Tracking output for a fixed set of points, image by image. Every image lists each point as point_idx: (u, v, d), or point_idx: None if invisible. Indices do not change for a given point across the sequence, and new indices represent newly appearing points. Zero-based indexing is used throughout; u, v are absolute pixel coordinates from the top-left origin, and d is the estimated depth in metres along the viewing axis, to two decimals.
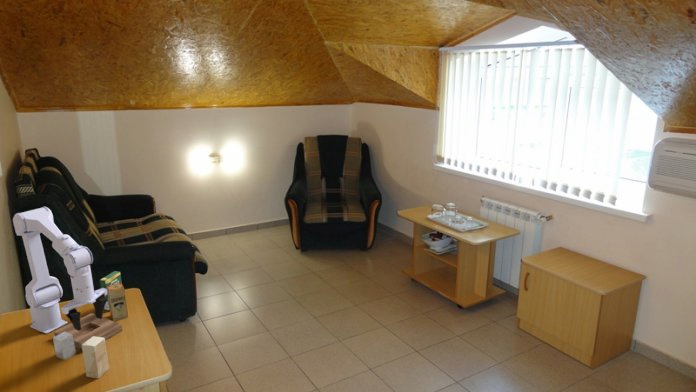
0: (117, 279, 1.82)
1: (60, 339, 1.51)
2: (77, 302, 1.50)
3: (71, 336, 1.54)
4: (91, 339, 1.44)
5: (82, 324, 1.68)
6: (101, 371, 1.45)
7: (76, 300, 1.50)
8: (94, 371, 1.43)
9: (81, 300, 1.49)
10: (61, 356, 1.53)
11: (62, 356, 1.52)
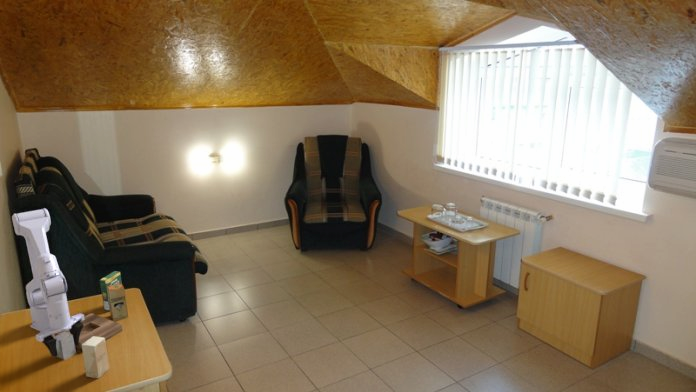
0: (117, 279, 1.82)
1: (60, 339, 1.51)
2: (52, 329, 1.49)
3: (71, 336, 1.54)
4: (91, 339, 1.44)
5: None
6: (101, 370, 1.45)
7: (51, 327, 1.49)
8: (94, 371, 1.43)
9: (57, 327, 1.49)
10: (61, 356, 1.53)
11: (62, 356, 1.52)
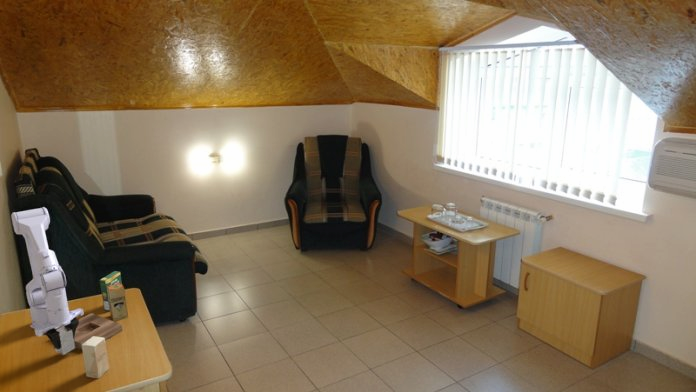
0: (117, 279, 1.82)
1: (59, 334, 1.51)
2: (51, 324, 1.49)
3: (70, 331, 1.53)
4: (91, 339, 1.44)
5: (82, 324, 1.68)
6: (101, 371, 1.45)
7: (50, 322, 1.49)
8: (94, 371, 1.43)
9: (56, 321, 1.48)
10: (60, 351, 1.52)
11: (61, 351, 1.52)
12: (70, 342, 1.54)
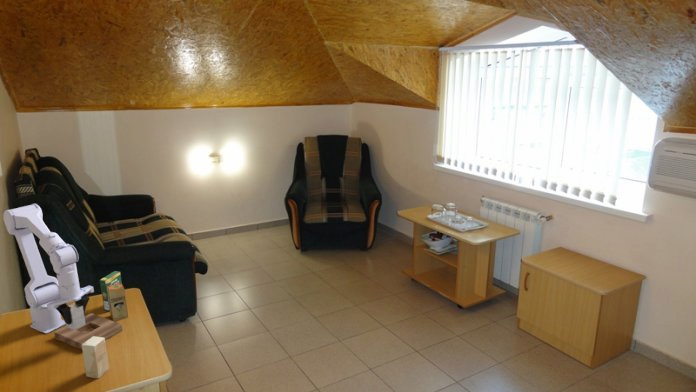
0: (117, 279, 1.82)
1: (70, 310, 1.55)
2: (63, 299, 1.53)
3: (81, 307, 1.58)
4: (91, 339, 1.44)
5: None
6: (101, 370, 1.45)
7: (62, 297, 1.53)
8: (94, 371, 1.43)
9: (67, 297, 1.53)
10: (71, 326, 1.57)
11: (72, 326, 1.56)
12: (81, 318, 1.58)
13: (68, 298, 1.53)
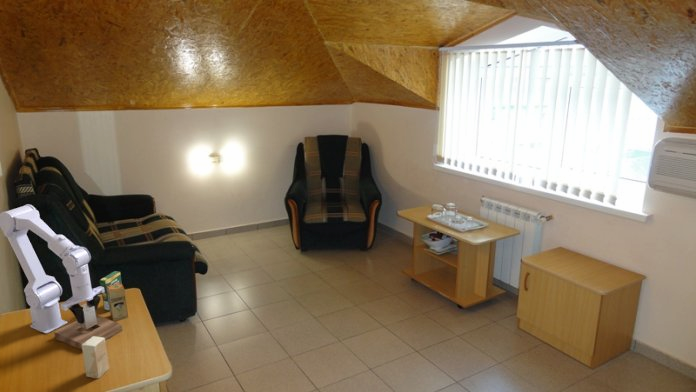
0: (117, 279, 1.82)
1: None
2: (76, 299, 1.59)
3: (93, 307, 1.64)
4: (91, 339, 1.44)
5: None
6: (101, 371, 1.45)
7: (75, 297, 1.59)
8: (94, 371, 1.43)
9: (80, 297, 1.59)
10: (83, 326, 1.63)
11: (84, 325, 1.62)
12: (93, 318, 1.64)
13: (81, 298, 1.59)
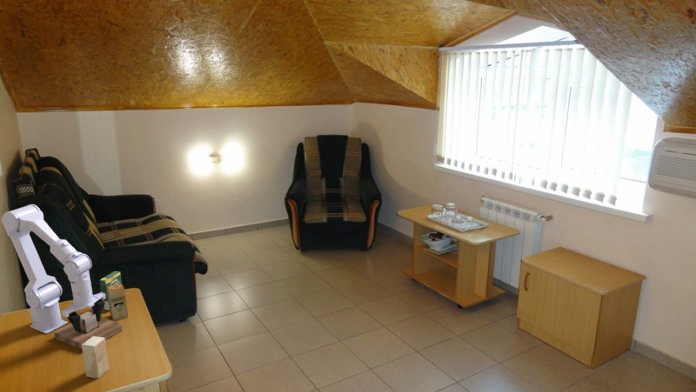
0: (117, 279, 1.82)
1: (84, 318, 1.62)
2: (77, 306, 1.60)
3: (94, 315, 1.64)
4: (91, 339, 1.44)
5: None
6: (101, 371, 1.45)
7: (76, 304, 1.60)
8: (94, 371, 1.43)
9: (81, 304, 1.60)
10: None
11: None
12: (94, 326, 1.65)
13: (82, 305, 1.60)
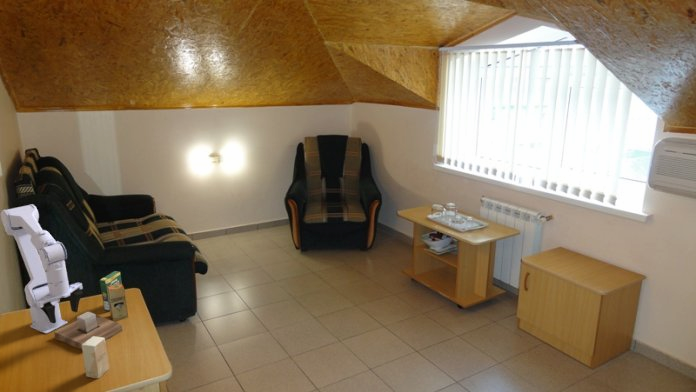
0: (117, 279, 1.82)
1: (84, 318, 1.62)
2: (52, 296, 1.54)
3: (94, 315, 1.64)
4: (91, 339, 1.44)
5: None
6: (101, 370, 1.45)
7: (51, 294, 1.54)
8: (94, 371, 1.43)
9: (56, 294, 1.54)
10: None
11: None
12: (94, 326, 1.65)
13: (57, 295, 1.54)
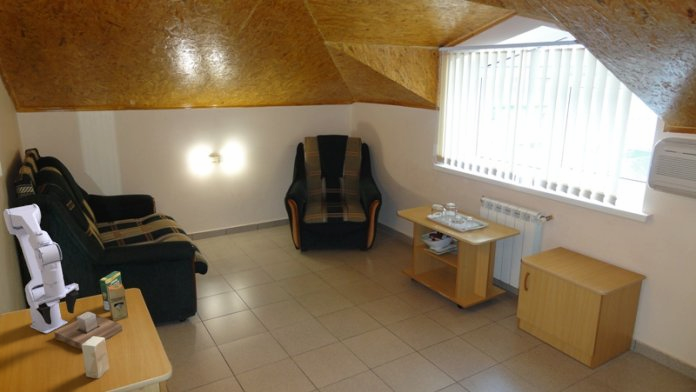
0: (117, 279, 1.82)
1: (84, 318, 1.62)
2: (47, 297, 1.53)
3: (94, 315, 1.64)
4: (91, 339, 1.44)
5: None
6: (101, 371, 1.45)
7: (46, 295, 1.53)
8: (94, 371, 1.43)
9: (51, 294, 1.53)
10: None
11: None
12: (94, 326, 1.65)
13: (52, 296, 1.53)
